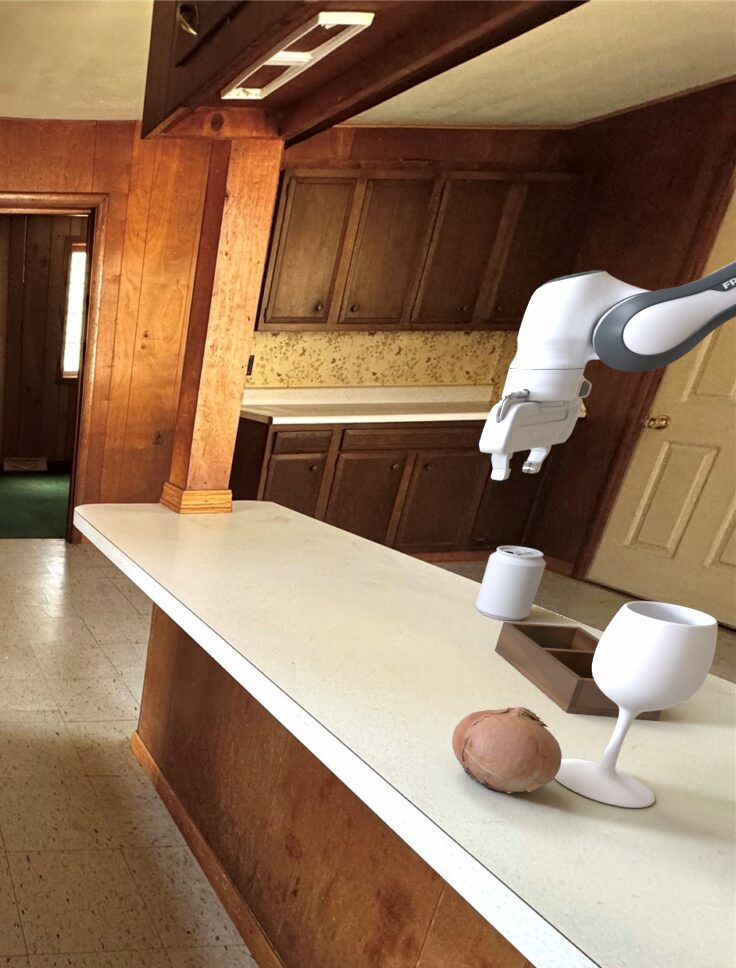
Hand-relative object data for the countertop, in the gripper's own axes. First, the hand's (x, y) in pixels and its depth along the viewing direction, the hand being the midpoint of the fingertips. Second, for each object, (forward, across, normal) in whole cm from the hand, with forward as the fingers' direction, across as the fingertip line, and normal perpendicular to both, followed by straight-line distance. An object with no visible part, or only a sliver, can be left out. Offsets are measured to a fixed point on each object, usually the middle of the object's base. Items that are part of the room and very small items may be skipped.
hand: (514, 475), depth 108 cm
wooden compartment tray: (+25, -15, -19) cm, 35 cm away
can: (+25, +5, -2) cm, 26 cm away
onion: (+25, -49, -26) cm, 61 cm away
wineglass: (+25, -39, -32) cm, 57 cm away
